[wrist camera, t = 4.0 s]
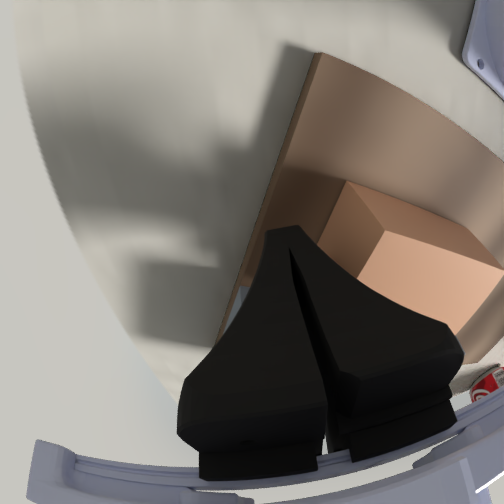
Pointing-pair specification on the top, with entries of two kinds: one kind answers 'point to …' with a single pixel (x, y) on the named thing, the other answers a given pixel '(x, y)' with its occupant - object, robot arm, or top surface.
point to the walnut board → (382, 173)
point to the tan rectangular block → (410, 255)
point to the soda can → (487, 383)
